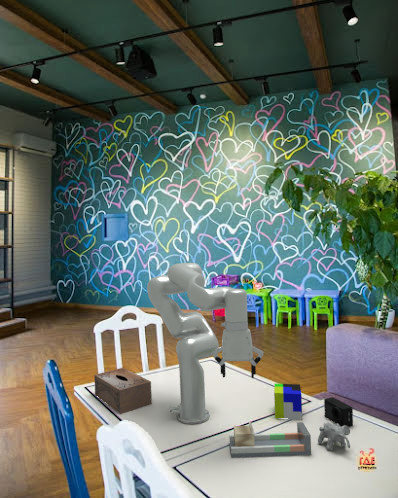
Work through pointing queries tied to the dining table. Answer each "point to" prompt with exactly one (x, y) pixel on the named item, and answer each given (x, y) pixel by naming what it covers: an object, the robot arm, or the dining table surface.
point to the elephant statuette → (334, 435)
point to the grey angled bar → (304, 436)
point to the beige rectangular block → (244, 435)
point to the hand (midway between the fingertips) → (238, 376)
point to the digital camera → (338, 412)
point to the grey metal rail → (270, 446)
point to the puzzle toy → (288, 401)
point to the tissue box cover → (123, 390)
